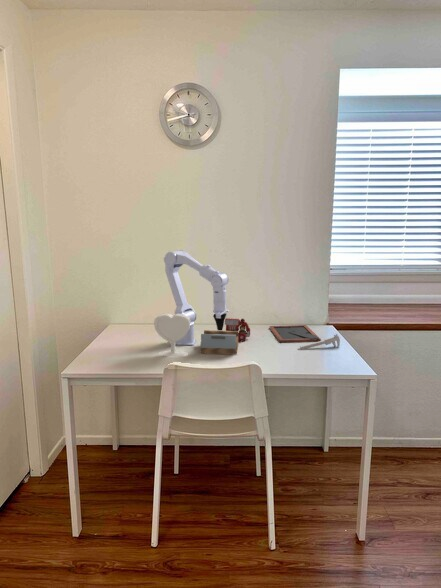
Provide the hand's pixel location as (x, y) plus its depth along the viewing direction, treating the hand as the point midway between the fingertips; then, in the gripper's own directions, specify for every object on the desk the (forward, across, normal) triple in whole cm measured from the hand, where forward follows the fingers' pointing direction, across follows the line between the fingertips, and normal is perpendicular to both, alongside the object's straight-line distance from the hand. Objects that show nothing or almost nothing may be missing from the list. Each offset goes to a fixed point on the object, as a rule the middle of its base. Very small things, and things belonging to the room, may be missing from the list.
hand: (220, 329), depth 187 cm
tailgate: (+6, -7, 0) cm, 9 cm away
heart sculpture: (+9, -8, +20) cm, 24 cm away
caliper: (+10, +6, -45) cm, 46 cm away
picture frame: (+10, +26, -35) cm, 45 cm away
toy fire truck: (+10, +16, -7) cm, 20 cm away
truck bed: (+9, 0, 0) cm, 9 cm away
